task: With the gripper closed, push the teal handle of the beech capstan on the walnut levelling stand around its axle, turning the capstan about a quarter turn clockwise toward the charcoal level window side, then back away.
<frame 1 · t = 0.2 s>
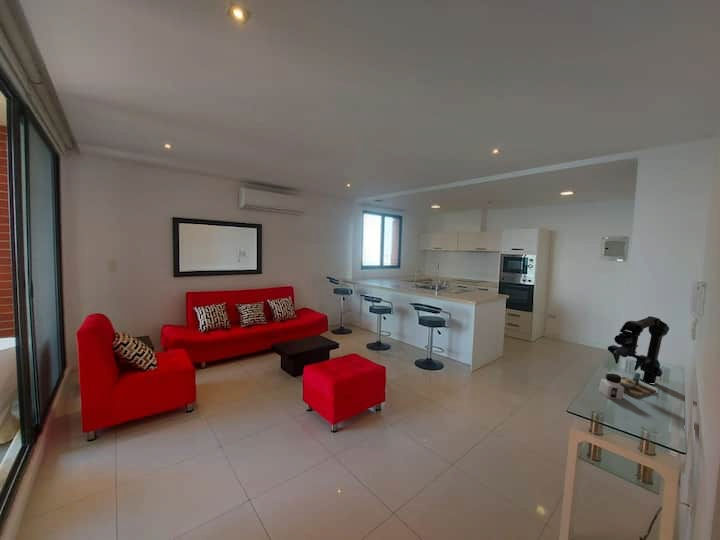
hand: (625, 367, 174), 14 cm above the table, fingers open, 9 cm apart
container: (610, 395, 169), on the table
stand: (629, 387, 178), on the table
capstan: (630, 380, 178), point 5 cm above the table, hinge at 0.0°
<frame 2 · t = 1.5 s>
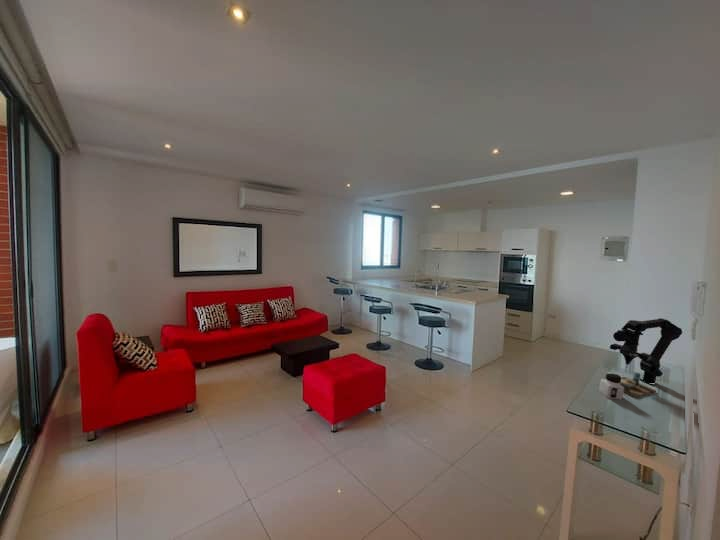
hand: (627, 364, 182), 12 cm above the table, fingers closed
nothing on the table moved.
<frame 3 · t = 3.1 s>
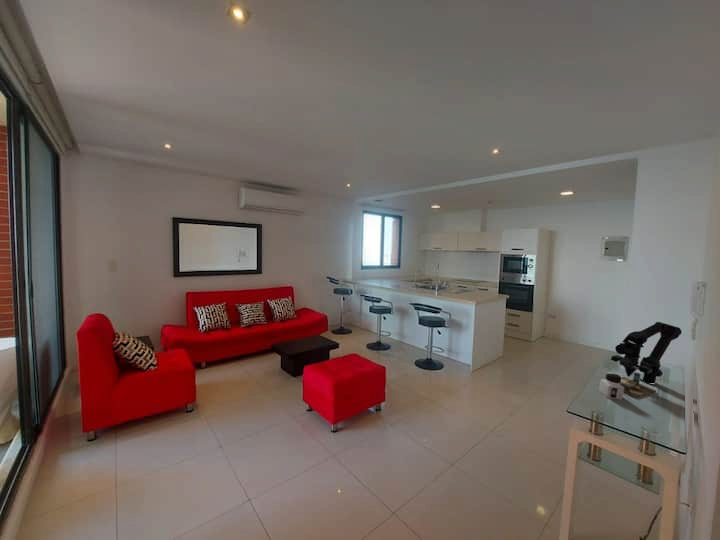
hand: (628, 376, 182), 4 cm above the table, fingers closed
capstan: (630, 380, 178), point 5 cm above the table, hinge at 0.9°, touching gripper
everything else where it was.
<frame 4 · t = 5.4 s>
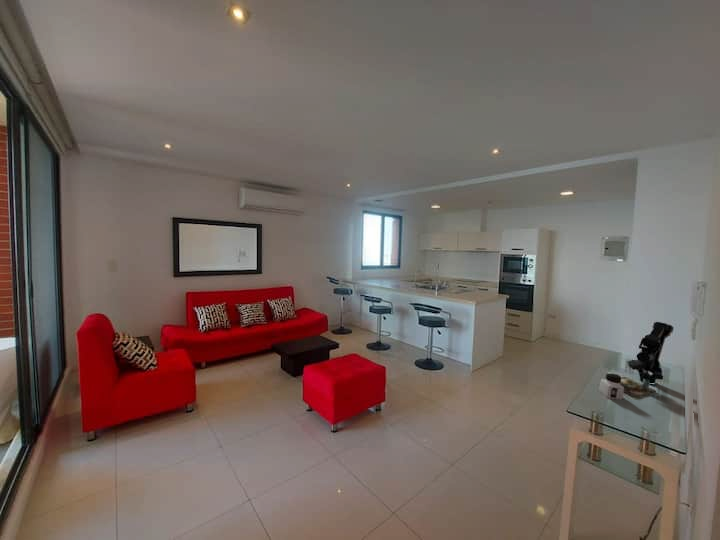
hand: (642, 382, 176), 5 cm above the table, fingers closed
capstan: (632, 381, 176), point 5 cm above the table, hinge at 56.9°, touching gripper
everything else where it was.
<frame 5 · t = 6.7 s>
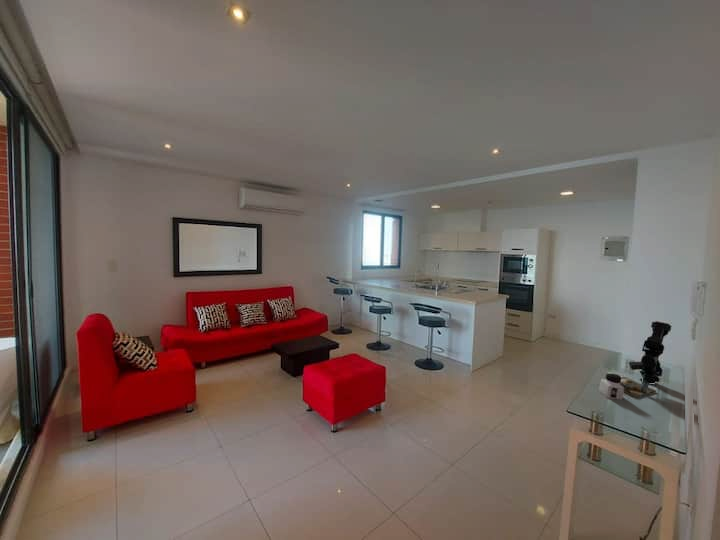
hand: (644, 384, 173), 5 cm above the table, fingers closed
capstan: (632, 381, 176), point 5 cm above the table, hinge at 85.4°, touching gripper
everything else where it was.
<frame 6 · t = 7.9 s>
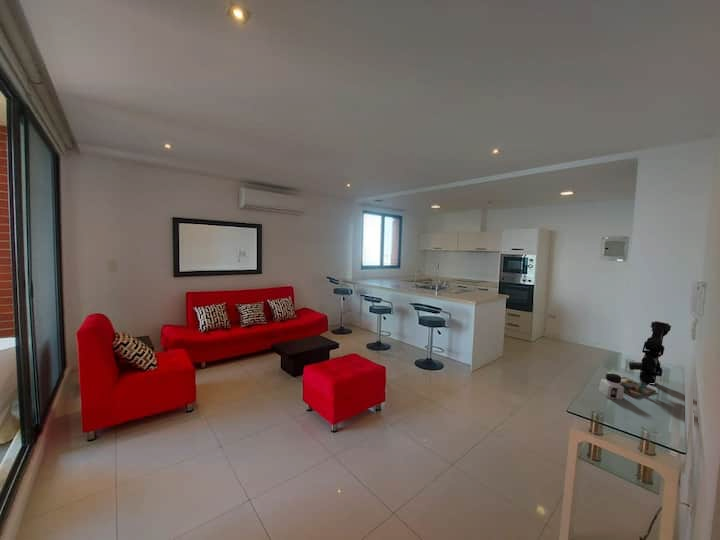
hand: (644, 386, 172), 5 cm above the table, fingers closed
capstan: (631, 381, 175), point 5 cm above the table, hinge at 102.7°, touching gripper
everything else where it was.
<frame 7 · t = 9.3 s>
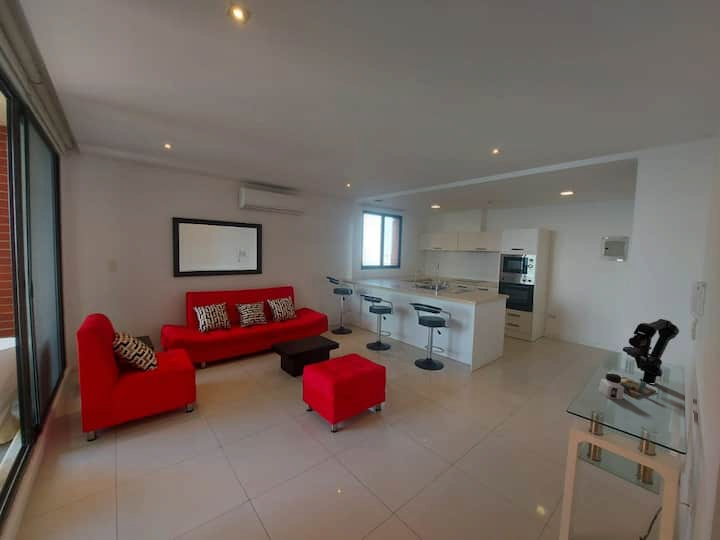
hand: (638, 368, 178), 12 cm above the table, fingers closed
capstan: (631, 381, 175), point 5 cm above the table, hinge at 102.8°
everything else where it was.
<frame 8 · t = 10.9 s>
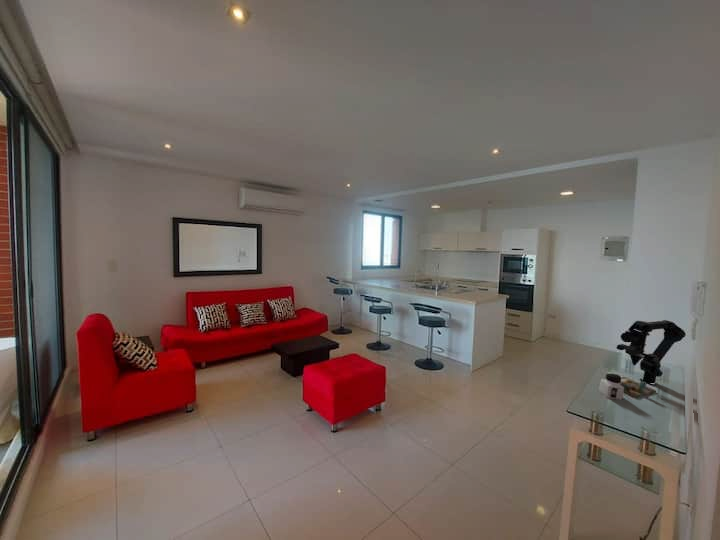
hand: (634, 365, 182), 12 cm above the table, fingers closed
nothing on the table moved.
at the end: capstan at +103° (first picture: +0°); container moved 0.2 cm from its start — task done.
